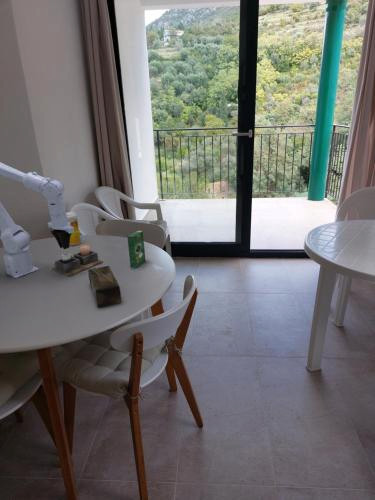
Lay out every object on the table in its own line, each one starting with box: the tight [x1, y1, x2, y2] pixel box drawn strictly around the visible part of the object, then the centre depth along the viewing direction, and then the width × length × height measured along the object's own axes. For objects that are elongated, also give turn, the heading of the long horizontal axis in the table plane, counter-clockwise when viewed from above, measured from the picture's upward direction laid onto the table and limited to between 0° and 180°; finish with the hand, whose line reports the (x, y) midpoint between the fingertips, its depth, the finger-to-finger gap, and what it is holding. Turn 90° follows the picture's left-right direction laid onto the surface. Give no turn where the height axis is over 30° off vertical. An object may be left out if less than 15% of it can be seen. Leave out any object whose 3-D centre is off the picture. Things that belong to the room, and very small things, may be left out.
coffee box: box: [126, 230, 146, 269], centre depth 134 cm, size 8×3×13 cm, turn 158°
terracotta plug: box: [78, 244, 91, 257], centre depth 138 cm, size 4×4×4 cm
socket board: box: [51, 249, 104, 278], centre depth 137 cm, size 16×12×4 cm
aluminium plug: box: [59, 251, 73, 264], centre depth 132 cm, size 4×4×4 cm
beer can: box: [66, 211, 82, 247], centre depth 160 cm, size 6×6×15 cm
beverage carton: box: [87, 265, 122, 308], centre depth 114 cm, size 8×19×7 cm, turn 22°
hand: (64, 247), depth 131 cm, fingers closed
